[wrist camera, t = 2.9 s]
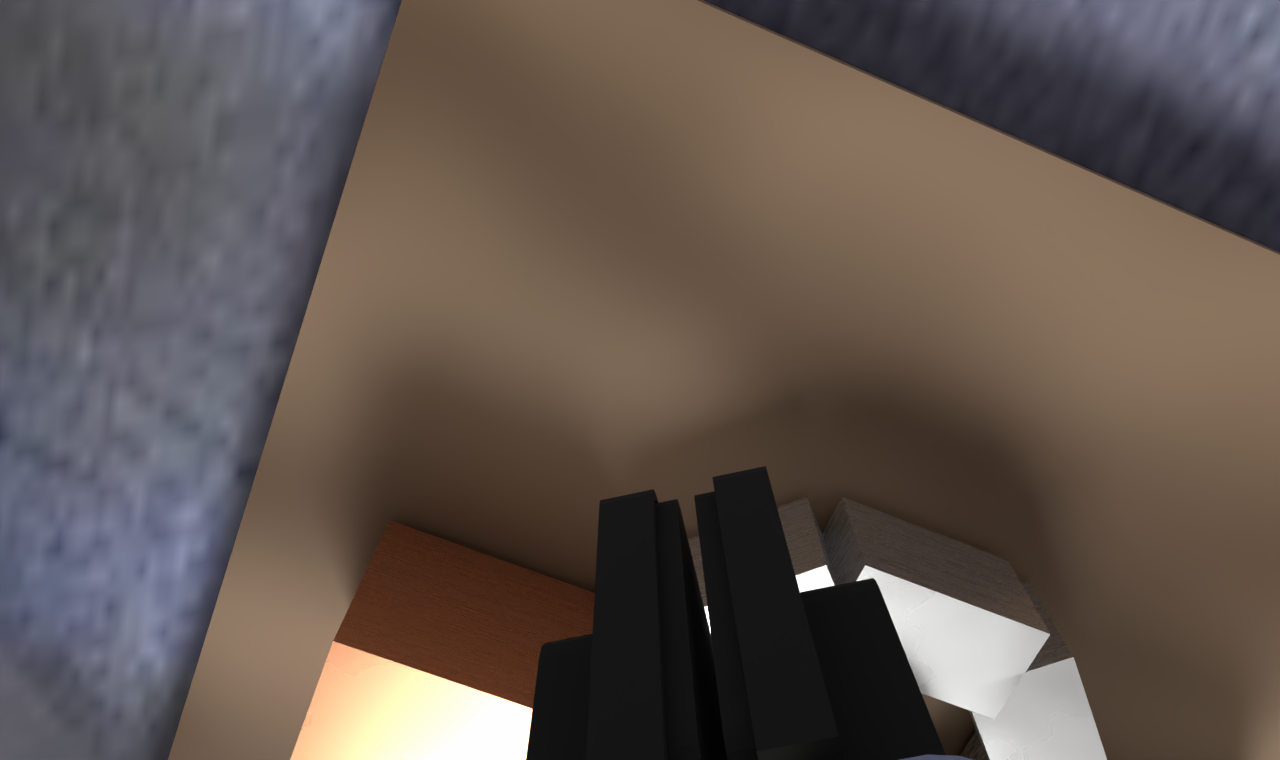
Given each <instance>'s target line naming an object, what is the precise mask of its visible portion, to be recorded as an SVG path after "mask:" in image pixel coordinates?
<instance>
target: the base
mask: <svg viewBox="0 0 1280 760" xmlns="http://www.w3.org/2000/svg"><path fill="white" fill-rule="evenodd" d="M763 466H766V469H767V472H768V476H769V479H770V483H771V487H772V491H773V494H774V498H775V502H776V505H777V507H780V506H783V505H786V504H788V503H791V502H794V501H797V500H800V499H802V498H805V497H808V500H809V502H810V504H811V507H812V509H813V512H814V514H815V517H816V519H817V522H818V524H819V527H820V529H821V532H822V533H823V531H824V529H825V528H826V526H827V524H828V522H829V520H830V518H831V516H832V515H833V513H834V511H835V509H836V507H837V505H838V503H839V502H840V500H841V498H842V497H844V498H846V499H849V500H852V501H854V502H857V503H860V504H862V505H865V506H867V507H870V508H873V509H875V510H878V511H881V512H883V513H886V514H888V515H891V516H894V517H896V518H899V519H902V520H904V521H907V522H909V523H912V524H915V525H917V526H920V527H923V528H925V529H928V530H931V531H933V532H936V533H938V534H941V535H944V536H946V537H949V538H952V539H954V540H957V541H959V542H962V543H965V544H967V545H970V546H973V547H975V548H978V549H980V550H983V551H986V552H988V553H991V554H994V555H996V556H999V557H1001V558H1004V559H1007V560H1008V561H1009V563H1010V565H1011V567H1012V568H1013V570H1014V572H1015V574H1016V575H1017V577H1018V579H1019V580H1020V582H1021V583H1023V582H1026V581H1029V582H1030V584H1031V585H1032V587H1033V589H1034V591H1035V592H1036V594H1037V596H1038V597H1039V599H1040V601H1041V602H1042V604H1043V606H1044V607H1045V609H1046V611H1047V613H1048V614H1049V616H1050V618H1051V619H1052V621H1053V623H1054V624H1055V626H1056V628H1057V630H1058V631H1059V633H1060V635H1061V636H1062V638H1063V640H1064V641H1065V643H1066V645H1067V647H1068V648H1069V650H1070V652H1071V653H1072V655H1073V657H1074V660H1075V663H1076V666H1077V669H1078V672H1079V675H1080V678H1081V681H1082V684H1083V687H1084V690H1085V693H1086V696H1087V699H1088V702H1089V706H1090V709H1091V712H1092V715H1093V718H1094V721H1095V724H1096V727H1097V730H1098V733H1099V736H1100V739H1101V742H1102V745H1103V748H1104V751H1105V755H1106V758H1107V760H1280V252H1278V251H1276V250H1274V249H1271V248H1269V247H1267V246H1264V245H1262V244H1260V243H1258V242H1255V241H1253V240H1251V239H1248V238H1246V237H1244V236H1242V235H1239V234H1237V233H1235V232H1232V231H1230V230H1228V229H1226V228H1223V227H1221V226H1219V225H1216V224H1214V223H1212V222H1210V221H1207V220H1205V219H1203V218H1200V217H1198V216H1196V215H1194V214H1191V213H1189V212H1187V211H1184V210H1182V209H1180V208H1178V207H1175V206H1173V205H1171V204H1168V203H1166V202H1164V201H1162V200H1159V199H1157V198H1155V197H1152V196H1150V195H1148V194H1146V193H1143V192H1141V191H1139V190H1136V189H1134V188H1132V187H1130V186H1127V185H1125V184H1123V183H1120V182H1118V181H1116V180H1114V179H1111V178H1109V177H1107V176H1104V175H1102V174H1100V173H1098V172H1095V171H1093V170H1091V169H1088V168H1086V167H1084V166H1081V165H1079V164H1077V163H1075V162H1072V161H1070V160H1068V159H1065V158H1063V157H1061V156H1059V155H1056V154H1054V153H1052V152H1049V151H1047V150H1045V149H1043V148H1040V147H1038V146H1036V145H1033V144H1031V143H1029V142H1027V141H1024V140H1022V139H1020V138H1017V137H1015V136H1013V135H1011V134H1008V133H1006V132H1004V131H1001V130H999V129H997V128H995V127H992V126H990V125H988V124H985V123H983V122H981V121H979V120H976V119H974V118H972V117H969V116H967V115H965V114H963V113H960V112H958V111H956V110H953V109H951V108H949V107H947V106H944V105H942V104H940V103H937V102H935V101H933V100H931V99H928V98H926V97H924V96H921V95H919V94H917V93H915V92H912V91H910V90H908V89H905V88H903V87H901V86H899V85H896V84H894V83H892V82H889V81H887V80H885V79H882V78H880V77H878V76H876V75H873V74H871V73H869V72H866V71H864V70H862V69H860V68H857V67H855V66H853V65H850V64H848V63H846V62H844V61H841V60H839V59H837V58H834V57H832V56H830V55H828V54H825V53H823V52H821V51H818V50H816V49H814V48H812V47H809V46H807V45H805V44H802V43H800V42H798V41H796V40H793V39H791V38H789V37H786V36H784V35H782V34H780V33H777V32H775V31H773V30H770V29H768V28H766V27H764V26H761V25H759V24H757V23H754V22H752V21H750V20H748V19H745V18H743V17H741V16H738V15H736V14H734V13H732V12H729V11H727V10H725V9H722V8H720V7H718V6H716V5H713V4H711V3H709V2H706V1H704V0H402V1H401V5H400V8H399V11H398V14H397V18H396V21H395V24H394V27H393V31H392V34H391V37H390V40H389V44H388V47H387V50H386V53H385V56H384V60H383V63H382V66H381V69H380V73H379V76H378V79H377V82H376V86H375V89H374V92H373V95H372V99H371V102H370V105H369V108H368V112H367V115H366V118H365V121H364V125H363V128H362V131H361V134H360V138H359V141H358V144H357V147H356V151H355V154H354V157H353V160H352V164H351V167H350V170H349V173H348V177H347V180H346V183H345V186H344V190H343V193H342V196H341V199H340V203H339V206H338V209H337V212H336V216H335V219H334V222H333V225H332V229H331V232H330V235H329V238H328V242H327V245H326V248H325V251H324V254H323V258H322V261H321V264H320V267H319V271H318V274H317V277H316V280H315V284H314V287H313V290H312V293H311V297H310V300H309V303H308V306H307V310H306V313H305V316H304V319H303V323H302V326H301V329H300V332H299V336H298V339H297V342H296V345H295V349H294V352H293V355H292V358H291V362H290V365H289V368H288V371H287V375H286V378H285V381H284V384H283V388H282V391H281V394H280V397H279V401H278V404H277V407H276V410H275V414H274V417H273V420H272V423H271V427H270V430H269V433H268V436H267V439H266V443H265V446H264V449H263V452H262V456H261V459H260V462H259V465H258V469H257V472H256V475H255V478H254V482H253V485H252V488H251V491H250V495H249V498H248V501H247V504H246V508H245V511H244V514H243V517H242V521H241V524H240V527H239V530H238V534H237V537H236V540H235V543H234V547H233V550H232V553H231V556H230V560H229V563H228V566H227V569H226V573H225V576H224V579H223V582H222V586H221V589H220V592H219V595H218V599H217V602H216V605H215V608H214V612H213V615H212V618H211V621H210V625H209V628H208V631H207V634H206V637H205V641H204V644H203V647H202V650H201V654H200V657H199V660H198V663H197V667H196V670H195V673H194V676H193V680H192V683H191V686H190V689H189V693H188V696H187V699H186V702H185V706H184V709H183V712H182V715H181V719H180V722H179V725H178V728H177V732H176V735H175V738H174V741H173V745H172V748H171V751H170V754H169V758H168V760H290V759H291V756H292V753H293V751H294V748H295V745H296V742H297V740H298V737H299V734H300V731H301V729H302V726H303V723H304V720H305V717H306V715H307V712H308V709H309V706H310V704H311V701H312V698H313V695H314V693H315V690H316V687H317V684H318V682H319V679H320V676H321V673H322V670H323V668H324V665H325V662H326V659H327V657H328V654H329V651H330V648H331V646H332V643H333V640H334V638H335V636H336V634H337V632H338V630H339V627H340V625H341V623H342V621H343V619H344V617H345V615H346V613H347V610H348V608H349V606H350V604H351V602H352V600H353V598H354V596H355V593H356V591H357V589H358V587H359V585H360V583H361V581H362V578H363V576H364V574H365V572H366V570H367V568H368V566H369V564H370V561H371V559H372V557H373V555H374V553H375V551H376V549H377V547H378V544H379V542H380V540H381V538H382V536H383V534H384V532H385V530H386V527H387V525H388V523H389V521H390V520H391V521H394V522H397V523H399V524H402V525H405V526H408V527H411V528H413V529H416V530H419V531H422V532H425V533H428V534H430V535H433V536H436V537H439V538H442V539H444V540H447V541H450V542H453V543H456V544H458V545H461V546H464V547H467V548H470V549H472V550H475V551H478V552H481V553H484V554H486V555H489V556H492V557H495V558H498V559H500V560H503V561H506V562H509V563H512V564H514V565H517V566H520V567H523V568H526V569H528V570H531V571H534V572H537V573H540V574H543V575H545V576H548V577H551V578H554V579H557V580H559V581H562V582H565V583H568V584H571V585H573V586H576V587H579V588H582V589H585V590H587V591H590V592H593V593H595V577H596V559H597V540H598V521H599V504H600V500H604V499H609V498H614V497H618V496H623V495H628V494H633V493H638V492H643V491H647V490H652V489H654V491H655V493H656V496H657V499H658V502H659V503H660V502H665V501H670V500H674V499H678V502H679V505H680V509H681V512H682V516H683V521H684V525H685V529H686V533H687V537H688V539H690V538H693V537H696V536H699V532H698V524H697V516H696V508H695V500H694V495H699V494H704V493H708V492H713V491H714V485H713V478H712V477H715V476H720V475H725V474H729V473H734V472H739V471H744V470H749V469H754V468H758V467H763ZM921 694H922V693H921ZM922 696H923V699H924V701H925V704H926V706H927V709H928V711H929V714H930V716H931V719H932V721H933V724H934V726H935V729H936V731H937V734H938V736H939V739H940V742H941V744H942V747H943V749H944V752H945V754H946V755H951V756H960V754H961V753H962V751H963V749H964V748H965V746H966V745H967V743H968V742H969V740H970V739H971V737H972V736H973V734H974V733H975V731H976V729H975V726H974V724H973V721H972V718H971V716H970V713H969V710H967V709H964V708H961V707H958V706H956V705H953V704H950V703H947V702H945V701H942V700H939V699H936V698H933V697H931V696H928V695H925V694H922Z"/></svg>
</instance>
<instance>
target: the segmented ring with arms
mask: <svg viewBox="0 0 1280 760" xmlns="http://www.w3.org/2000/svg"><path fill="white" fill-rule="evenodd" d="M777 509H778V513H779V516H780V520H781V524H782V528H783V531H784V535H785V539H786V542H787V546H788V550H789V553H790V557H791V561H792V565H793V568H794V572H795V576H796V579H797V583H798V587H799V591H800V592H804V591H809V590H814V589H820V588H825V587H830V586H835V585H840V584H845V583H850V582H855V581H860V580H865V579H870V578H874V579H875V580H876V582H877V584H878V586H879V588H880V591H881V593H882V596H883V598H884V601H885V603H886V606H887V608H888V611H889V613H890V616H891V618H892V621H893V623H894V626H895V628H896V631H897V633H898V636H899V638H900V641H901V643H902V646H903V649H904V651H905V654H906V656H907V659H908V661H909V664H910V666H911V669H912V671H913V674H914V676H915V679H916V681H917V684H918V686H919V689H920V691H921V693H922V694H925V695H928V696H931V697H933V698H936V699H939V700H942V701H945V702H947V703H950V704H953V705H956V706H958V707H961V708H964V709H967V710H969V713H970V716H971V718H972V721H973V724H974V726H975V729H976V731H975V733H974V734H973V736H972V737H971V739H970V740H969V742H968V743H967V745H966V746H965V748H964V749H963V751H962V753H961V754H960V756H962V757H966V758H970V759H973V760H1107V758H1106V755H1105V751H1104V748H1103V745H1102V742H1101V739H1100V736H1099V733H1098V730H1097V727H1096V724H1095V721H1094V718H1093V715H1092V712H1091V709H1090V706H1089V702H1088V699H1087V696H1086V693H1085V690H1084V687H1083V684H1082V681H1081V678H1080V675H1079V672H1078V669H1077V666H1076V663H1075V660H1074V657H1073V655H1072V653H1071V652H1070V650H1069V648H1068V647H1067V645H1066V643H1065V641H1064V640H1063V638H1062V636H1061V635H1060V633H1059V631H1058V630H1057V628H1056V626H1055V624H1054V623H1053V621H1052V619H1051V618H1050V616H1049V614H1048V613H1047V611H1046V609H1045V607H1044V606H1043V604H1042V602H1041V601H1040V599H1039V597H1038V596H1037V594H1036V592H1035V591H1034V589H1033V587H1032V585H1031V584H1030V582H1029V581H1026V582H1023V583H1021V582H1020V580H1019V579H1018V577H1017V575H1016V574H1015V572H1014V570H1013V568H1012V567H1011V565H1010V563H1009V561H1008V560H1007V559H1004V558H1001V557H999V556H996V555H994V554H991V553H988V552H986V551H983V550H980V549H978V548H975V547H973V546H970V545H967V544H965V543H962V542H959V541H957V540H954V539H952V538H949V537H946V536H944V535H941V534H938V533H936V532H933V531H931V530H928V529H925V528H923V527H920V526H917V525H915V524H912V523H909V522H907V521H904V520H902V519H899V518H896V517H894V516H891V515H888V514H886V513H883V512H881V511H878V510H875V509H873V508H870V507H867V506H865V505H862V504H860V503H857V502H854V501H852V500H849V499H846V498H844V497H842V498H841V500H840V502H839V503H838V505H837V507H836V509H835V511H834V513H833V515H832V516H831V518H830V520H829V522H828V524H827V526H826V528H825V529H824V531H823V533H822V532H821V529H820V527H819V524H818V522H817V519H816V517H815V514H814V512H813V509H812V507H811V504H810V502H809V500H808V497H805V498H802V499H800V500H797V501H794V502H791V503H788V504H786V505H783V506H780V507H777ZM688 541H689V546H690V550H691V554H692V558H693V562H694V566H695V571H696V575H697V579H698V583H699V587H700V592H701V596H702V600H703V604H704V608H705V612H706V617H707V621H708V625H709V629H710V623H709V614H708V606H707V598H706V590H705V582H704V573H703V565H702V557H701V549H700V541H699V536H696V537H693V538H690V539H688ZM594 596H595V593H593V592H590V591H587V590H585V589H582V588H579V587H576V586H573V585H571V584H568V583H565V582H562V581H559V580H557V579H554V578H551V577H548V576H545V575H543V574H540V573H537V572H534V571H531V570H528V569H526V568H523V567H520V566H517V565H514V564H512V563H509V562H506V561H503V560H500V559H498V558H495V557H492V556H489V555H486V554H484V553H481V552H478V551H475V550H472V549H470V548H467V547H464V546H461V545H458V544H456V543H453V542H450V541H447V540H444V539H442V538H439V537H436V536H433V535H430V534H428V533H425V532H422V531H419V530H416V529H413V528H411V527H408V526H405V525H402V524H399V523H397V522H394V521H391V520H390V521H389V523H388V525H387V527H386V530H385V532H384V534H383V536H382V538H381V540H380V542H379V544H378V547H377V549H376V551H375V553H374V555H373V557H372V559H371V561H370V564H369V566H368V568H367V570H366V572H365V574H364V576H363V578H362V581H361V583H360V585H359V587H358V589H357V591H356V593H355V596H354V598H353V600H352V602H351V604H350V606H349V608H348V610H347V613H346V615H345V617H344V619H343V621H342V623H341V625H340V627H339V630H338V632H337V634H336V636H335V638H334V640H333V643H332V646H331V648H330V651H329V654H328V657H327V659H326V662H325V665H324V668H323V670H322V673H321V676H320V679H319V682H318V684H317V687H316V690H315V693H314V695H313V698H312V701H311V704H310V706H309V709H308V712H307V715H306V717H305V720H304V723H303V726H302V729H301V731H300V734H299V737H298V740H297V742H296V745H295V748H294V751H293V753H292V756H291V759H290V760H526V756H527V748H528V740H529V733H530V725H531V717H532V709H533V701H534V693H535V686H536V678H537V670H538V662H539V655H540V651H541V647H542V645H544V644H545V643H547V642H552V641H557V640H562V639H567V638H572V637H577V636H582V635H587V634H592V633H593V615H594ZM710 633H711V631H710Z"/></svg>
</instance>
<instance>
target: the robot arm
mask: <svg viewBox="0 0 1280 760" xmlns="http://www.w3.org/2000/svg"><path fill="white" fill-rule="evenodd" d="M712 478H713V485H714V491H713V492H708V493H704V494H699V495H694V500H695V508H696V516H697V524H698V532H699V541H700V549H701V557H702V565H703V573H704V582H705V590H706V598H707V606H708V614H709V623H710V629H709V625H708V621H707V617H706V612H705V608H704V604H703V600H702V596H701V592H700V587H699V583H698V579H697V575H696V571H695V566H694V562H693V558H692V554H691V550H690V546H689V541H688V537H687V533H686V529H685V525H684V521H683V516H682V512H681V509H680V505H679V502H678V499H674V500H670V501H665V502H660V503H659V502H658V499H657V496H656V493H655V491H654V489H652V490H647V491H643V492H638V493H633V494H628V495H623V496H618V497H614V498H609V499H604V500H600V504H599V521H598V540H597V559H596V577H595V596H594V615H593V633H592V634H587V635H582V636H577V637H572V638H567V639H562V640H557V641H552V642H547V643H545V644H544V645H542V647H541V651H540V655H539V662H538V670H537V678H536V686H535V693H534V701H533V709H532V717H531V725H530V733H529V740H528V748H527V756H526V760H973V759H970V758H966V757H962V756H951V755H946V754H945V752H944V749H943V747H942V744H941V742H940V739H939V736H938V734H937V731H936V729H935V726H934V724H933V721H932V719H931V716H930V714H929V711H928V709H927V706H926V704H925V701H924V699H923V696H922V694H921V691H920V689H919V686H918V684H917V681H916V679H915V676H914V674H913V671H912V669H911V666H910V664H909V661H908V659H907V656H906V654H905V651H904V649H903V646H902V643H901V641H900V638H899V636H898V633H897V631H896V628H895V626H894V623H893V621H892V618H891V616H890V613H889V611H888V608H887V606H886V603H885V601H884V598H883V596H882V593H881V591H880V588H879V586H878V584H877V582H876V580H875V579H874V578H870V579H865V580H860V581H855V582H850V583H845V584H840V585H835V586H830V587H825V588H820V589H814V590H809V591H804V592H800V591H799V587H798V583H797V579H796V576H795V572H794V568H793V565H792V561H791V557H790V553H789V550H788V546H787V542H786V539H785V535H784V531H783V528H782V524H781V520H780V516H779V513H778V509H777V505H776V502H775V498H774V494H773V491H772V487H771V483H770V479H769V476H768V472H767V469H766V466H763V467H758V468H754V469H749V470H744V471H739V472H734V473H729V474H725V475H720V476H715V477H712ZM710 631H711V633H710Z"/></svg>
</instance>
